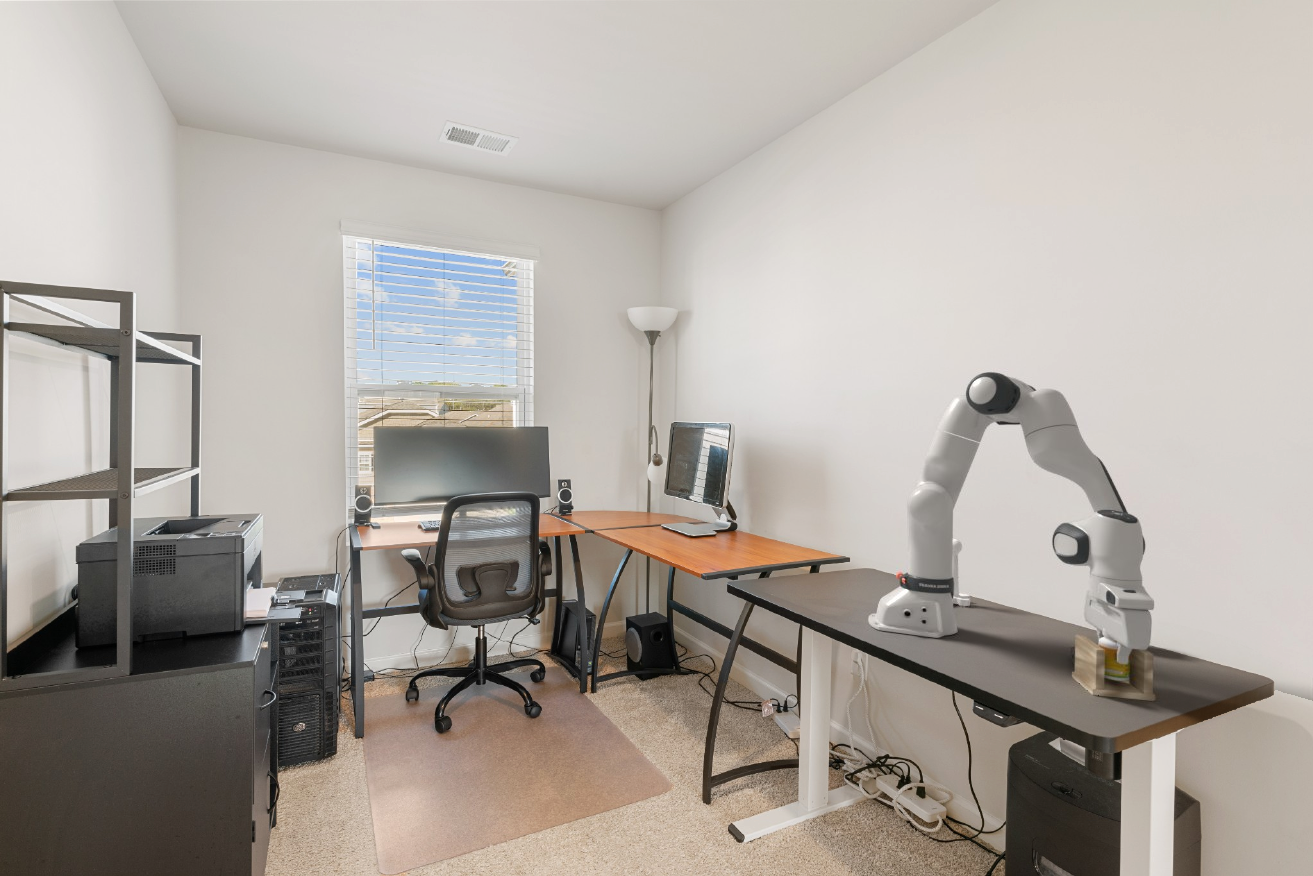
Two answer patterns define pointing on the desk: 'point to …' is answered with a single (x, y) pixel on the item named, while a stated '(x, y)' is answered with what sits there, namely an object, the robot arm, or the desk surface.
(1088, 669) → the holder
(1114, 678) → the supplement bottle
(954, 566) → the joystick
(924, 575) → the robot arm
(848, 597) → the desk surface
